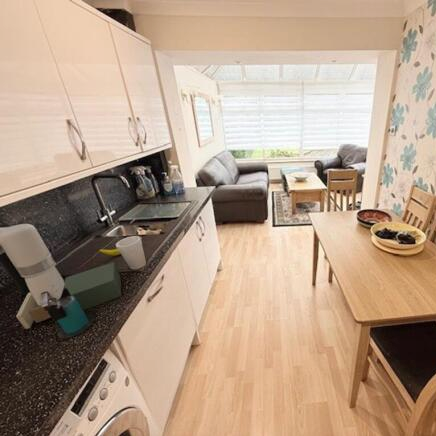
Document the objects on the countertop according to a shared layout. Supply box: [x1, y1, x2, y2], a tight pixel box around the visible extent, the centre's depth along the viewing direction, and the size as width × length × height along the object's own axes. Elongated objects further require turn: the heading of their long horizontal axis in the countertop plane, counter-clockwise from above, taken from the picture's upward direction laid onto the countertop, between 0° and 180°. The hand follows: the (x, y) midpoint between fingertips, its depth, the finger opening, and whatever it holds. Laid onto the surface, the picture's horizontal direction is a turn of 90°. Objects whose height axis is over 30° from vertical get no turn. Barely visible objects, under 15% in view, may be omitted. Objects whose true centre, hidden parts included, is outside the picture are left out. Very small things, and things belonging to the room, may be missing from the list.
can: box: [52, 296, 88, 333], centre depth 78 cm, size 6×6×10 cm
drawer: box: [15, 292, 55, 330], centre depth 87 cm, size 16×14×6 cm
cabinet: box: [64, 261, 122, 312], centre depth 93 cm, size 16×15×8 cm
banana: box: [97, 236, 143, 256], centre depth 121 cm, size 3×19×6 cm, turn 131°
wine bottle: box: [0, 252, 30, 297], centre depth 93 cm, size 8×8×30 cm
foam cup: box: [115, 235, 147, 270], centre depth 108 cm, size 10×9×13 cm
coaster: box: [56, 312, 96, 340], centre depth 80 cm, size 10×10×1 cm
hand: (63, 308), depth 77 cm, fingers open, 9 cm apart
